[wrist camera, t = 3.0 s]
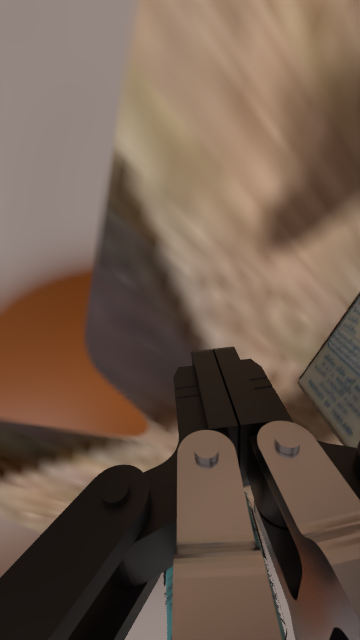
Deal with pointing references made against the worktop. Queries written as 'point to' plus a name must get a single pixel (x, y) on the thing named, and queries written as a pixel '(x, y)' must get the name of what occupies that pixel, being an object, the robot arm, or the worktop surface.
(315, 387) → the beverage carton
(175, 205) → the worktop surface
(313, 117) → the worktop surface
